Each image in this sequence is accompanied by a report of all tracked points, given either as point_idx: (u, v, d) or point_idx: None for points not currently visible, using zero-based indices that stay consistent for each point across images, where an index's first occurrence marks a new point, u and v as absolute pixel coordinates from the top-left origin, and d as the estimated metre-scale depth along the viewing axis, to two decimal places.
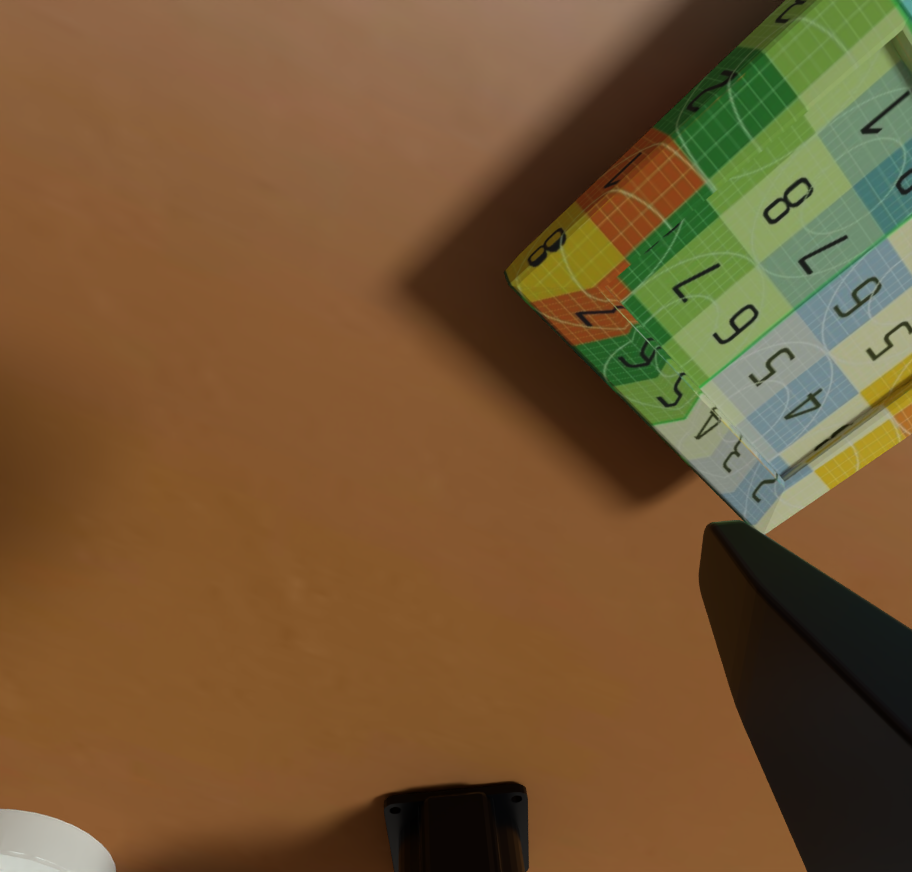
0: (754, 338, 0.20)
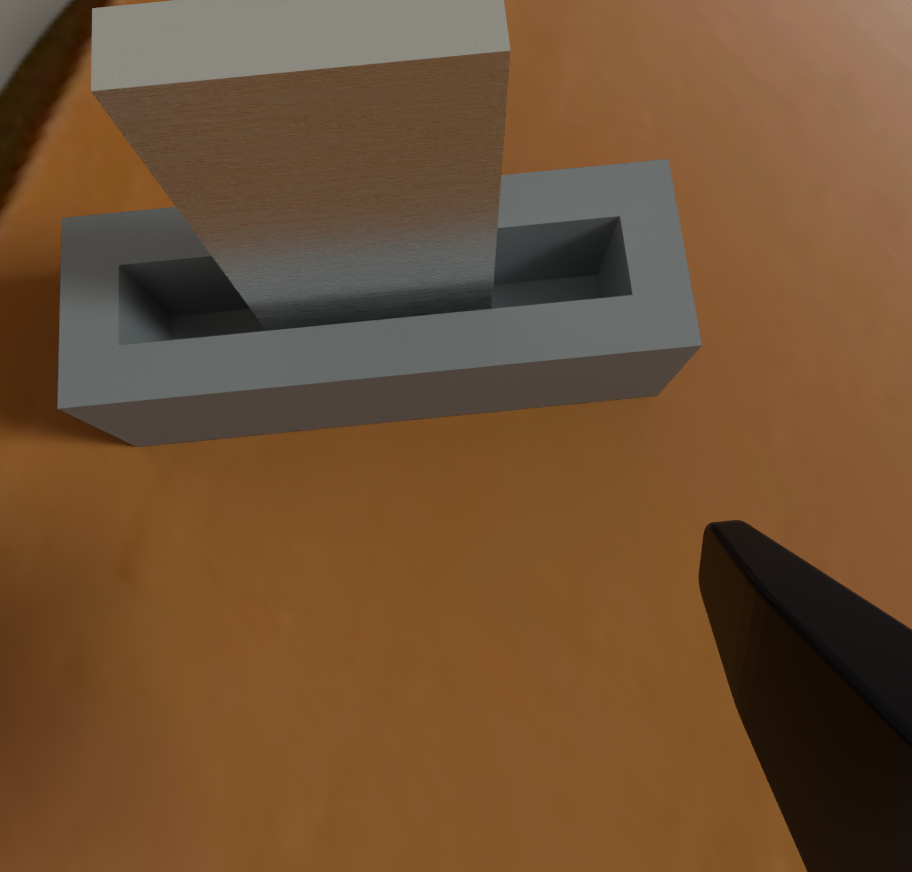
0: None
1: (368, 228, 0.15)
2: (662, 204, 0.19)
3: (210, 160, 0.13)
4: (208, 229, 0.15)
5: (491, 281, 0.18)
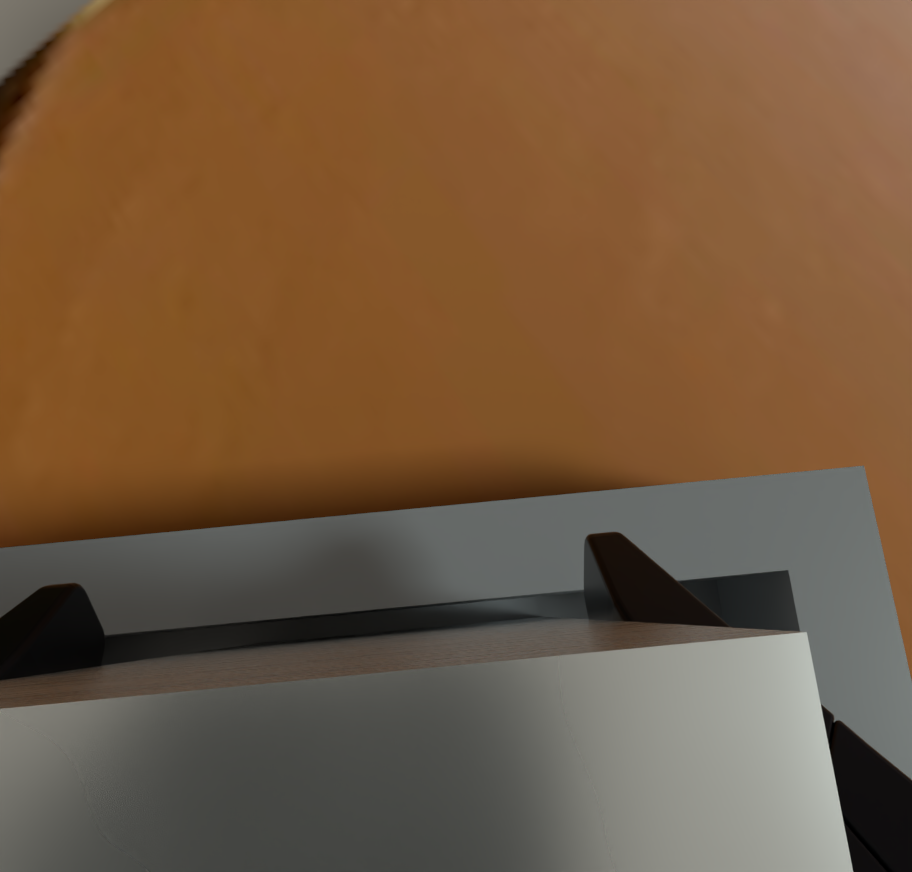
0: None
1: None
2: (858, 548, 0.12)
3: None
4: None
5: None
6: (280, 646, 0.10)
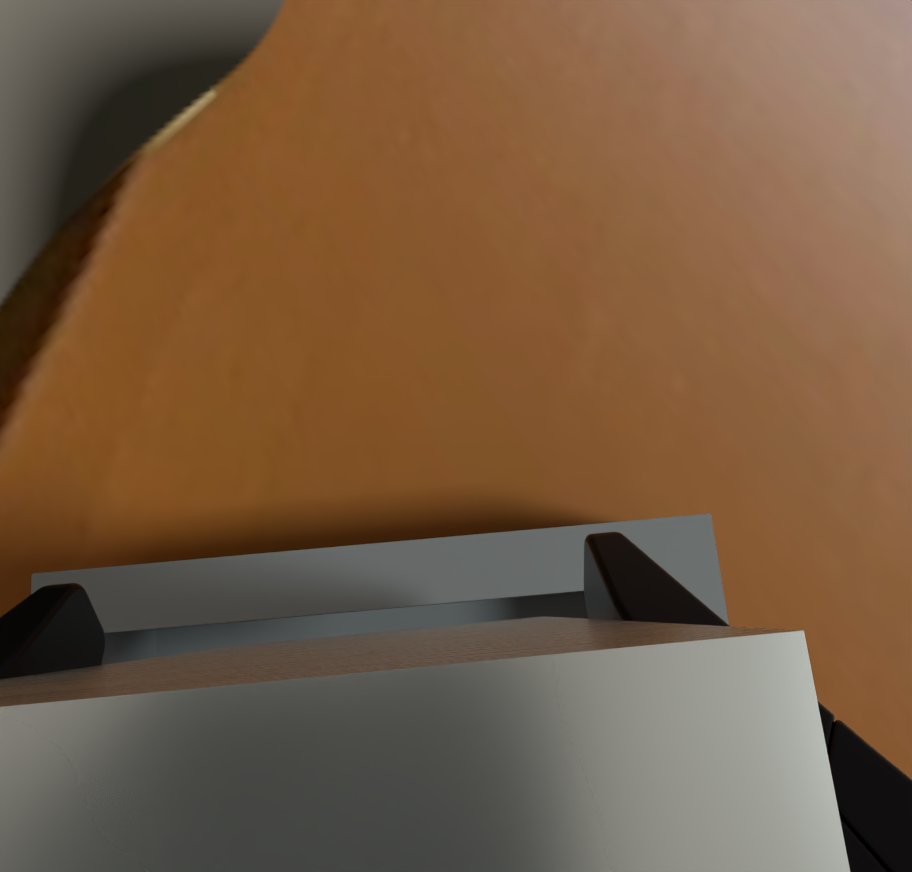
0: None
1: None
2: (704, 569, 0.17)
3: None
4: None
5: None
6: None
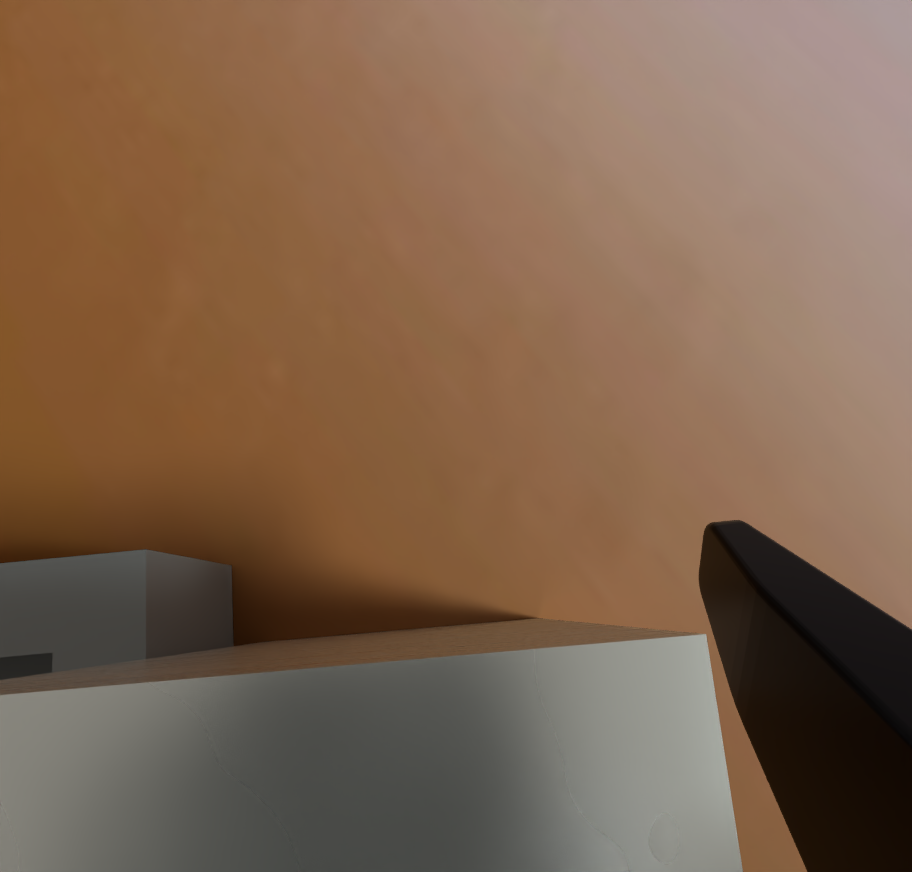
0: None
1: None
2: (123, 631, 0.12)
3: None
4: None
5: None
6: (304, 642, 0.12)
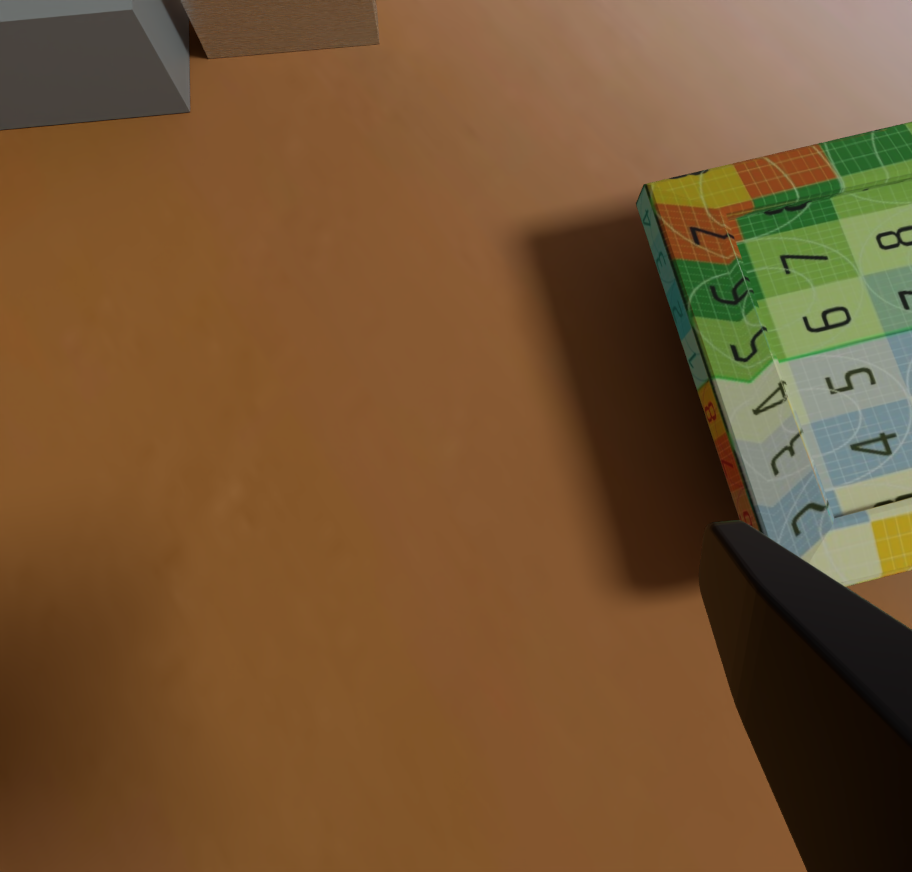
0: (840, 342, 0.20)
1: None
2: None
3: None
4: None
5: None
6: None
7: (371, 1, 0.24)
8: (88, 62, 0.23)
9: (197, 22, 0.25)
